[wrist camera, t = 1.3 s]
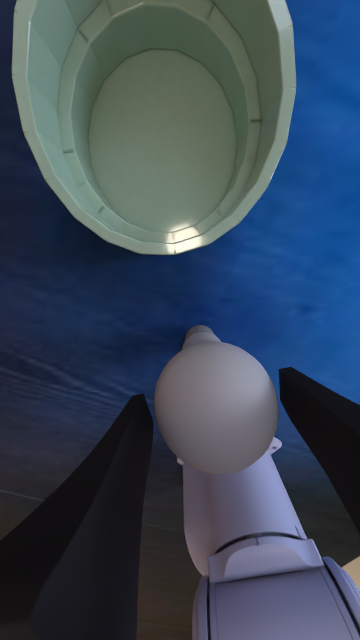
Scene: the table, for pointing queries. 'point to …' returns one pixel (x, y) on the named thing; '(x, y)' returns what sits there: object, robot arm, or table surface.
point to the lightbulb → (215, 405)
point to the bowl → (155, 111)
